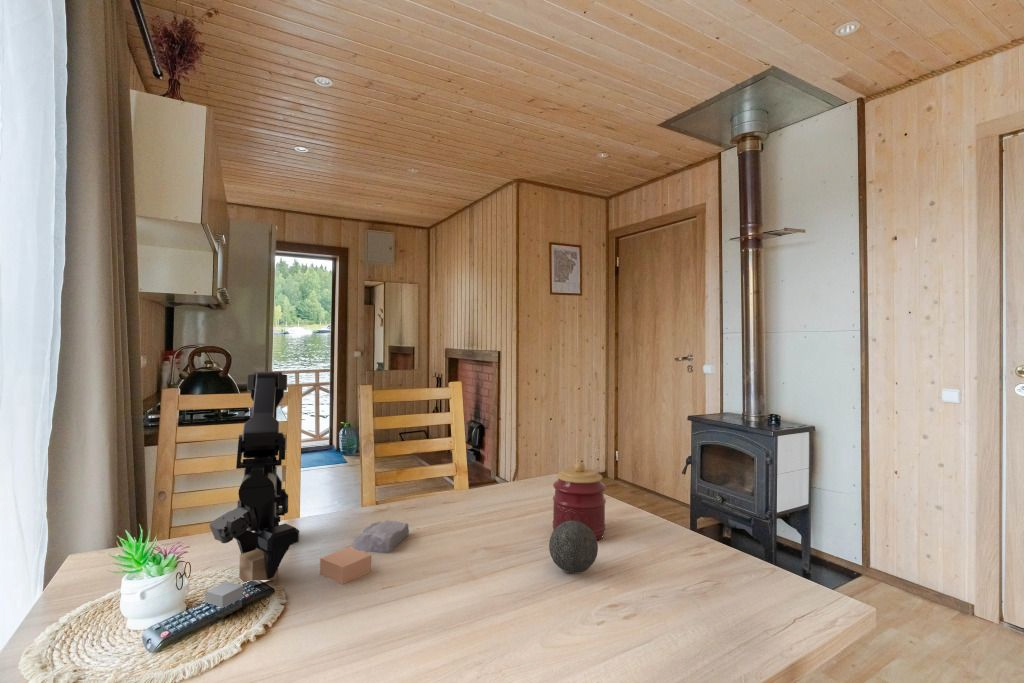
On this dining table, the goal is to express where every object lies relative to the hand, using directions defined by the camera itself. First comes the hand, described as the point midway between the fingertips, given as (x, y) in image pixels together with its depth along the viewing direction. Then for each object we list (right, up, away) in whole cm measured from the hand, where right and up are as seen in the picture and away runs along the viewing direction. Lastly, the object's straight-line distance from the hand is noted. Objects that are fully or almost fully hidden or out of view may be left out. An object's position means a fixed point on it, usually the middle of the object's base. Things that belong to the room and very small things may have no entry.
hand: (258, 572), depth 97 cm
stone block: (+19, -2, +19) cm, 27 cm away
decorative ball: (+62, -2, +5) cm, 62 cm away
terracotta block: (+16, -2, +3) cm, 16 cm away
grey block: (0, -1, -12) cm, 12 cm away
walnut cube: (0, -1, 0) cm, 1 cm away
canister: (+66, -3, +26) cm, 71 cm away
